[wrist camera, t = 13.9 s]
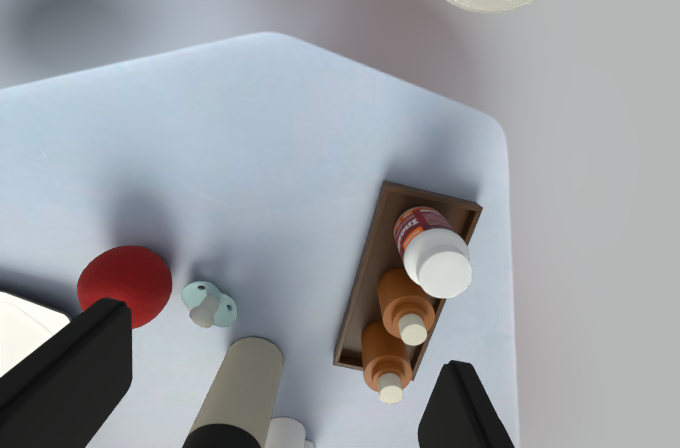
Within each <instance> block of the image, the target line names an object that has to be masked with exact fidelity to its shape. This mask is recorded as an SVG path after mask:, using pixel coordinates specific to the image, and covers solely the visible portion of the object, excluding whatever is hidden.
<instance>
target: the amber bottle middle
mask: <svg viewBox="0 0 680 448" xmlns="http://www.w3.org/2000/svg"><path fill="white" fill-rule="evenodd" d="M377 293H378V298H379V303H380V308H381V314H382V319H383V324H384V327H385V328H386V330H387V331H388V332H389V333H390V334H391V335H393V336H395V337H397V338H400V339H402V340H403V342H404V343H406V344H408V345H412V346H415V345H419V344H421V343H423V342H424V341H425V339H426V337H427V332H428V331H429V330H430V328H431V327H432V325H433V323H434V319H435V312H434V309H433V307H432V304H431V302H430V300H429V298H428V296H427V293H426V292H425V291H424V290H423V288H422V287H421V286H420V285H418V284H417V283H415V282H414V281H413V280H412V279H411V278H410V277H409V275H408V273H407V271H406V269H405V268H394V269H391V270H389V271H387V272H386V273H384V274H383V275H382V276H381V278H380V279H379V281H378V284H377Z"/></svg>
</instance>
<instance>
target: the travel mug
mask: <svg viewBox="0 0 680 448" xmlns="http://www.w3.org/2000/svg"><path fill="white" fill-rule="evenodd" d="M283 365H284V360H283V356H282V353H281V352H280V350H279V349H278V348H277V347H276V346H275V345H274V344H273V343H271V342H269V341H267V340H265V339H262V338H257V337H248V338H243V339H240V340H238V341H236V342H235V343H233V344H232V345H231V346H230V348H229V349H228V351H227V354H226V356H225V358H224V360H223V362H222V364H221V366H220V368H219V371H218V373H217V375H216V377H215V379H214V381H213V383H212V385H211V387H210V390H209V392H208V394H207V396H206V398H205V400H204V402H203V404H202V407H201V409H200V411H199V413H198V415H197V417H196V419H195V421H194V424H193V426H192V428H191V430H190V432H189V434H188V436H187V438H186V441H185V443H184V445H183V447H182V448H265V443H266V439H267V435H268V430H269V426H270V421H271V417H272V413H273V408H274V404H275V400H276V395H277V391H278V387H279V382H280V378H281V374H282V369H283Z"/></svg>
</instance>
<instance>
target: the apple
mask: <svg viewBox="0 0 680 448" xmlns="http://www.w3.org/2000/svg"><path fill="white" fill-rule="evenodd" d="M171 291H172V277H171V272H170V270H169V268H168V266H167V265H166V263H165V262H164V260H163V259H162V258H161V257H160V256H159V255H157V254H156V253H154V252H153V251H151V250H149V249H147V248H145V247H140V246H121V247H116V248H113V249H110V250H108V251H106V252H104V253H102V254H101V255H99V256H98V257H96V258H95V259H94V260H93V261H91V262H90V263H89V264H88V266H87V267H86V268H85V269H84V270H83V272H82V274H81V275H80V278H79V280H78V284H77V295H78V301H79V303H80V306H81V309H82V311H83V312H84V311H85V310H86V309H87V308H89V307H90V306H91V305H92V304H94V303H95V302H96V301H97V300H99V299H101V298H109V299H115V300H120V301H124V302H126V304H127V307H129V308H131V311H132V329H134V328H138V327H141V326H143V325H145V324H146V323H148V322H150V321H151V320H153V319H154V318H155V317H156V316H157V315H158V314H159V313H160V312H161V311H162V309H163V308H164V307H165V305H166V304H167V302H168V300H169V298H170V295H171Z"/></svg>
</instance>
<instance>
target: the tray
mask: <svg viewBox="0 0 680 448" xmlns="http://www.w3.org/2000/svg"><path fill="white" fill-rule="evenodd" d="M419 206H425V207H430V208H432V209H435V210H436V211H438V212H439V213H440V214H441V215H442V216H443V217H444V218H445V219H446V221H447V222H448V223H449V224H450V225H451V226H452V228H453V229H454V230H455V231H456V232H457V233H458V235H459V236H460V237H461V238H462V239H463V241H464V242H465V243H466V245H467V246H468V244H469V241H470V239H471V236H472V234H473V231H474V229H475V227H476V224H477V222H478V219H479V217H480V214H481V212H482V209H483V207H481V206H480V205H479V204H477V203H476V202H472V201H467V200H463V199H459V198H455V197H451V196H447V195H442V194H438V193H434V192H430V191H426V190H422V189H417V188H413V187H409V186H405V185H401V184H397V183H392V182H388V181H383V184H382V187H381V191H380V194H379V198H378V201H377V205H376V208H375V212H374V215H373V219H372V222H371V226H370V229H369V232H368V236H367V239H366V243H365V246H364V250H363V253H362V257H361V260H360V264H359V267H358V271H357V274H356V278H355V281H354V285H353V288H352V292H351V295H350V299H349V302H348V306H347V309H346V312H345V316H344V319H343V323H342V326H341V330H340V333H339V337H338V340H337V344H336V347H335V351H334V357H333V365H335V366H340V367H346V368H351V369H356V370H361V371H363V359H362V346H361V335H362V332H363V331H364V329H365V328H366V327H367V326H368V325H370V324H371V323H374V322H377V321H383V319H382V314H381V308H380V303H379V298H378V293H377V284H378V281H379V279H380V278H381V276H382V275H383V274H384V273H386V272H387V271H389V270H391V269H394V268H405V267H404V264H403V261H402V258H401V256H400V253H399V250H398V248H397V245H396V242H395V239H394V227H395V224H396V222H397V220H398V218H399V217H400V216H401V215H402V214H403V213H404V212H405V211H407V210H409V209H411V208H414V207H419ZM427 296H428V298H429V300H430V302H431V304H432V307H433V309H434V312H435V319H434V323H433V325H432V327H431V328H430V330H429V331H428V332H427V337H426V339H425V341H424V342H423V343H421V344H419V345H415V346H412V345H408V344H406V343H405V346H406V350H407V353H408V357H409V361H410V365H411V369H412V378H411V380H412V381H414V378H415V376H416V373H417V371H418V368H419V366H420V363H421V361H422V358H423V356H424V353H425V351H426V348H427V346H428V343H429V341H430V338H431V336H432V333H433V331H434V328H435V326H436V323H437V321H438V318H439V316H440V313H441V311H442V308H443V306H444V304H445V301H446V299H447V298H436V297H433V296H431V295H429V294H428V293H427Z"/></svg>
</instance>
